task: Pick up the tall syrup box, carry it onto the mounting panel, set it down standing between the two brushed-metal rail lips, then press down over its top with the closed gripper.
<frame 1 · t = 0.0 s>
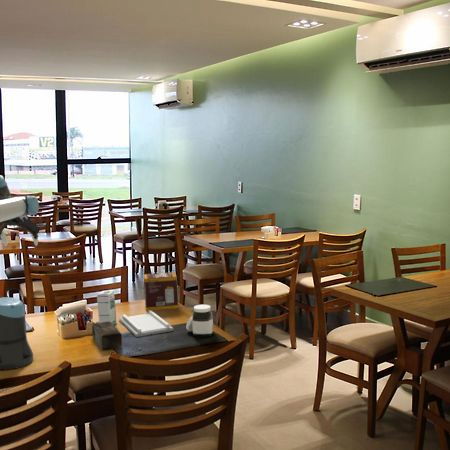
hand: (21, 243, 249), 36 cm above the table, tool tilted 35°, fingers open, 13 cm apart
supplement box: (161, 307, 274), on the table
syrup box: (107, 325, 247), on the table
spread jar: (199, 334, 231), on the table
dark grey rectangular block: (106, 343, 224), on the table
mounting panel: (145, 325, 244), on the table
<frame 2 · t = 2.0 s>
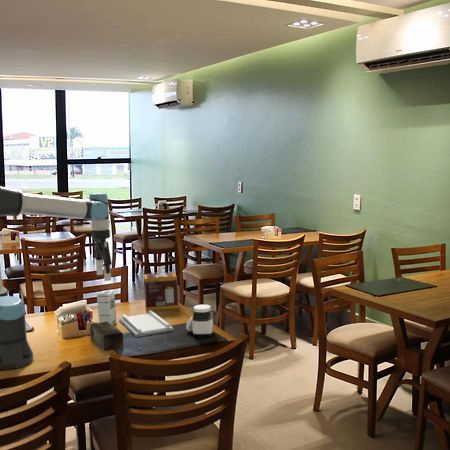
hand: (103, 277, 245), 21 cm above the table, tool pointing down, fingers open, 13 cm apart
nothing on the table moved.
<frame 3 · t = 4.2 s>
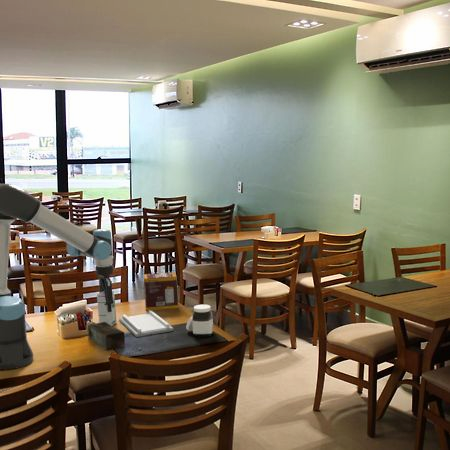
hand: (107, 316, 247), 4 cm above the table, tool pointing down, fingers closed on syrup box, 8 cm apart
syrup box: (107, 325, 247), on the table, touching gripper
when the fingers open (6 cm above the table, at t = 9.3 s): syrup box stays where it is, resting on mounting panel.
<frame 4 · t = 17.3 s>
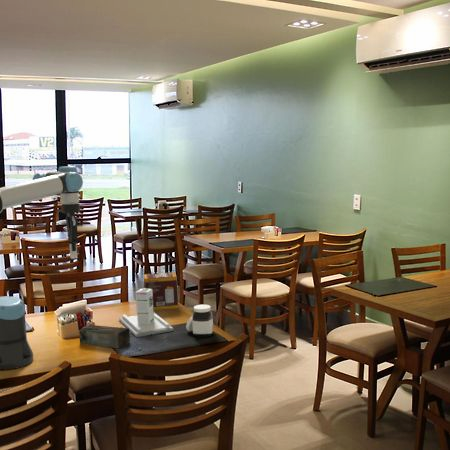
hand: (74, 258, 241), 30 cm above the table, tool pointing down, fingers closed
syrup box: (145, 323, 243), point 1 cm above the table, touching mounting panel
at the end: syrup box inside the target area on the mounting panel (1.0 cm from its centre), point 1.3 cm above the mounting panel's base; syrup box tilted 0°; the gripper is holding nothing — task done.
